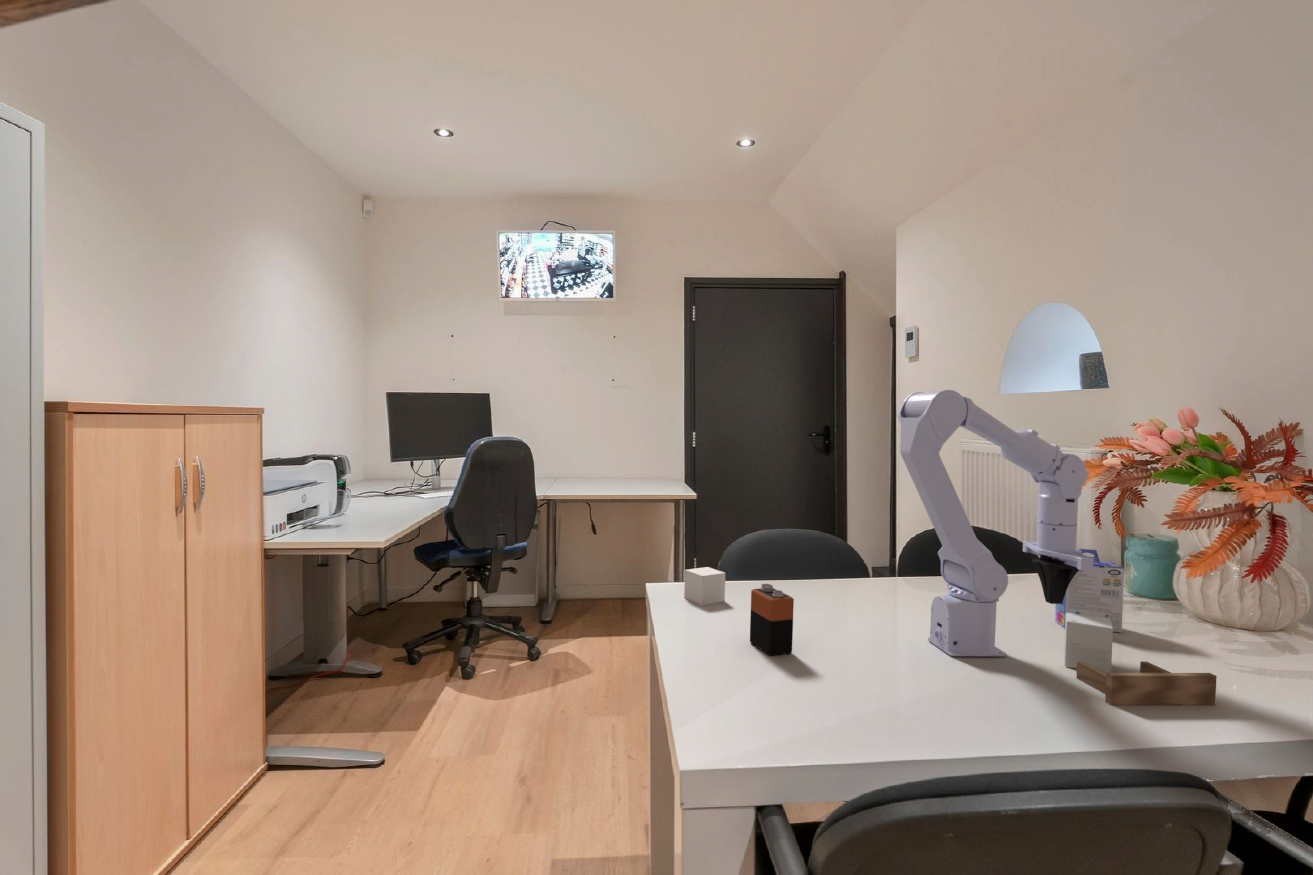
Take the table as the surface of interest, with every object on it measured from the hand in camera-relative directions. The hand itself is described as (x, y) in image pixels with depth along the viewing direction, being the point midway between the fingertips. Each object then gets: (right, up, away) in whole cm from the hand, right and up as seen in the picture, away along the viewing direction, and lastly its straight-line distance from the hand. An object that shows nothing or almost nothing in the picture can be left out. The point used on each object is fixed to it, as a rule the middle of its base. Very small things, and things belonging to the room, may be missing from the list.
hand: (1053, 602), depth 107 cm
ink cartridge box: (+14, -8, +12) cm, 20 cm away
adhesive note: (-58, -6, +23) cm, 63 cm away
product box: (0, -8, -8) cm, 11 cm away
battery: (-49, -7, -4) cm, 50 cm away
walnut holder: (+1, -8, -17) cm, 19 cm away
